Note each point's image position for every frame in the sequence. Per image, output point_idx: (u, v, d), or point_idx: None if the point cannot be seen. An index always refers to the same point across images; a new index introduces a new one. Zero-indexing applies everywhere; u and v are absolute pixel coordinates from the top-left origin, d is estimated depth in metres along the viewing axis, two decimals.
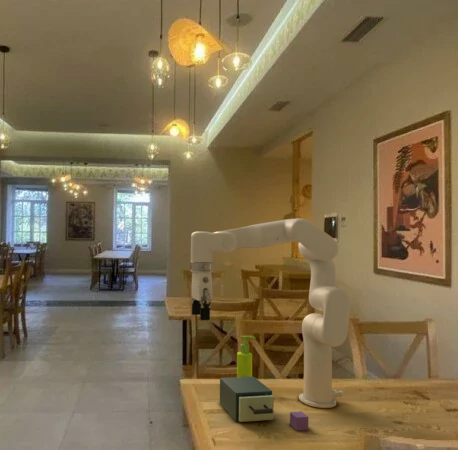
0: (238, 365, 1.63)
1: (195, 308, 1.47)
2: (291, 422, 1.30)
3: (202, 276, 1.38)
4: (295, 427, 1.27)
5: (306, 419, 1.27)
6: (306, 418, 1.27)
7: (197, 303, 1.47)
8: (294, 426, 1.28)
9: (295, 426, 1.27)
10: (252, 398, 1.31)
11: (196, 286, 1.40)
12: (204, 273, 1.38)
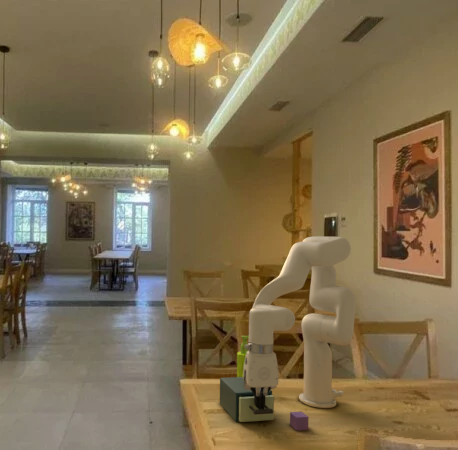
0: (238, 365, 1.63)
1: None
2: (291, 422, 1.30)
3: (245, 356, 1.30)
4: (295, 427, 1.27)
5: (306, 419, 1.27)
6: (306, 418, 1.27)
7: (260, 394, 1.29)
8: (294, 426, 1.28)
9: (295, 426, 1.27)
10: (252, 398, 1.31)
11: None
12: (247, 353, 1.29)
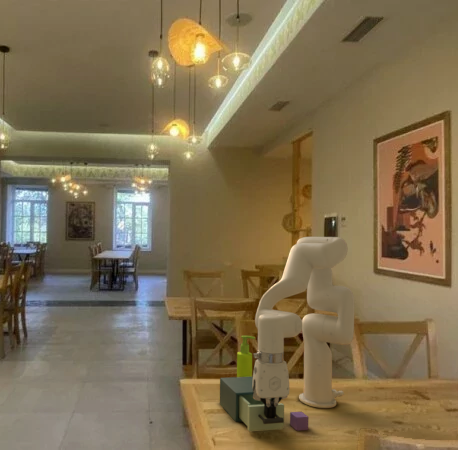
0: (238, 365, 1.63)
1: None
2: (291, 422, 1.30)
3: (255, 365, 1.24)
4: (295, 427, 1.27)
5: (306, 419, 1.27)
6: (306, 418, 1.27)
7: (271, 405, 1.23)
8: (294, 426, 1.28)
9: (295, 426, 1.27)
10: (261, 406, 1.24)
11: None
12: (256, 362, 1.23)
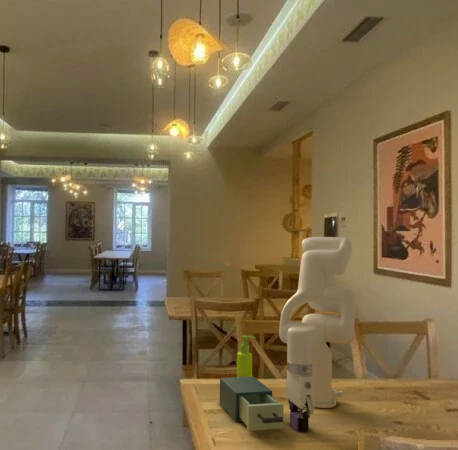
0: (238, 365, 1.63)
1: None
2: (291, 422, 1.30)
3: (304, 381, 1.25)
4: (295, 427, 1.27)
5: None
6: None
7: (296, 411, 1.31)
8: (294, 426, 1.28)
9: (295, 426, 1.27)
10: (261, 406, 1.25)
11: (296, 391, 1.27)
12: (306, 378, 1.25)
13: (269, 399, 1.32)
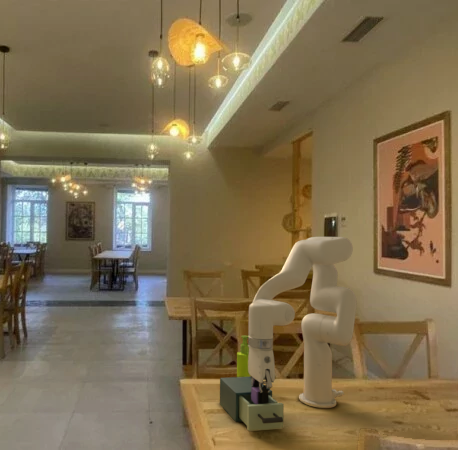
0: (238, 365, 1.63)
1: None
2: (252, 397, 1.30)
3: (263, 355, 1.25)
4: (255, 401, 1.28)
5: None
6: None
7: (257, 386, 1.32)
8: (255, 401, 1.28)
9: (255, 400, 1.28)
10: (261, 406, 1.25)
11: (256, 365, 1.27)
12: (266, 352, 1.26)
13: (269, 399, 1.32)
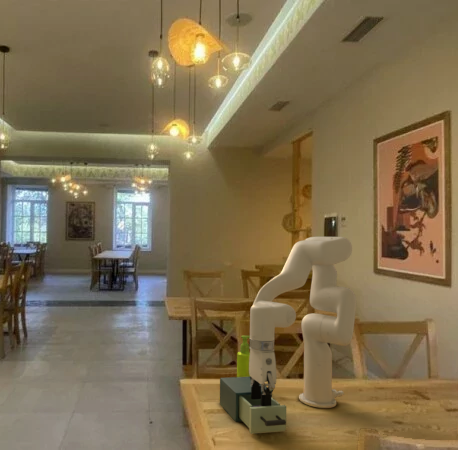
0: (238, 365, 1.63)
1: (255, 392, 1.32)
2: None
3: (265, 357, 1.25)
4: None
5: None
6: None
7: (257, 386, 1.32)
8: None
9: None
10: (263, 408, 1.23)
11: (257, 367, 1.26)
12: (267, 354, 1.25)
13: (272, 401, 1.30)
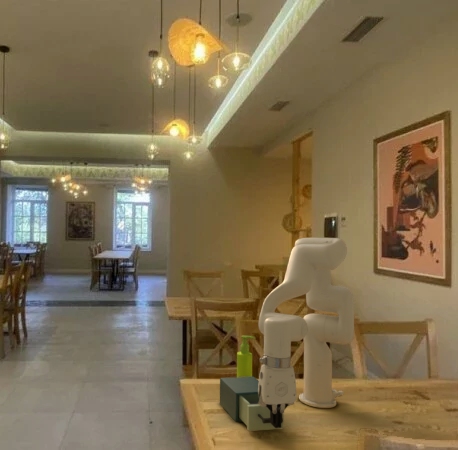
0: (238, 365, 1.63)
1: None
2: None
3: (260, 370, 1.19)
4: None
5: None
6: None
7: (277, 412, 1.19)
8: None
9: None
10: (261, 406, 1.25)
11: None
12: (262, 367, 1.19)
13: None
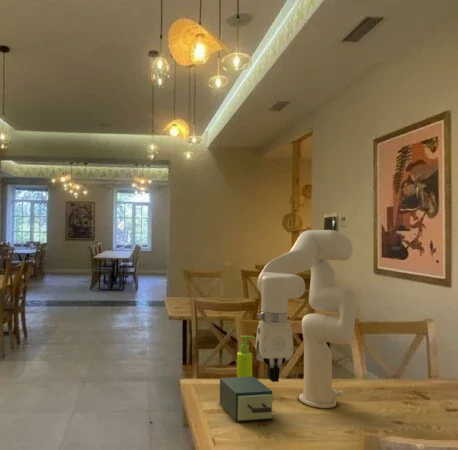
0: (238, 365, 1.63)
1: None
2: None
3: (258, 326, 1.22)
4: None
5: None
6: None
7: (274, 366, 1.21)
8: None
9: None
10: (251, 397, 1.32)
11: None
12: (259, 323, 1.21)
13: None
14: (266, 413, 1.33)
